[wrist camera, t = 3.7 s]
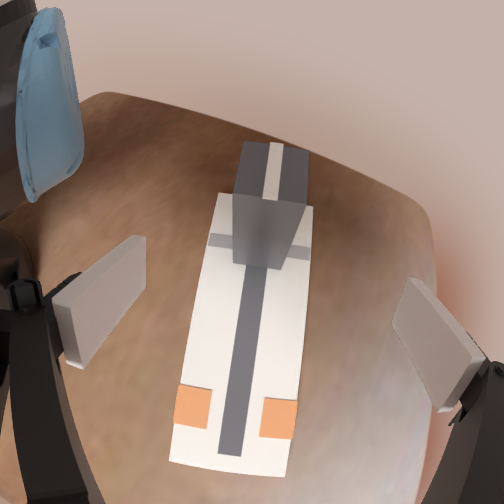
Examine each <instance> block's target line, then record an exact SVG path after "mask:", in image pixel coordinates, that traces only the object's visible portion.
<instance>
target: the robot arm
mask: <svg viewBox="0 0 504 504" xmlns="http://www.w3.org/2000/svg"><path fill="white" fill-rule="evenodd" d="M84 151H85V140H84V131H83V125H82V118H81V112H80V106H79V100H78V94H77V88H76V82H75V76H74V70H73V64H72V58H71V52H70V46H69V41H68V36H67V33H66V28H65V20H64V17H63V13H62V11H61V10H60V9H58V8H56V7H54V8H44V9H42V10H40V11H39V12H37V9H36V4H35V1H34V0H0V221H1V220H2V219H4V218H5V217H7V216H8V215H10V214H11V213H13V212H15V211H16V210H18V209H19V208H21V207H22V206H24V205H26V204H27V203H29V202H31V203H34V202H36V201H37V200H38V199H39V198H40V195H41V194H43V193H44V192H46V191H48V190H49V189H51V188H52V187H54V186H55V185H57V184H59V183H60V182H62V181H64V180H65V179H67V178H69V177H70V176H72V175H73V174H74V173H75V172H76V171H77V169H78V168H79V166H80V164H81V162H82V160H83V157H84ZM145 288H146V237H145V236H139V235H133V234H132V235H131V236H130V237H128V238H127V239H126V240H124V241H123V242H121V243H120V244H119V245H117V246H116V247H115V248H114V249H112V250H111V251H110V252H108V253H107V254H106V255H104V256H103V257H102V258H101V259H99V260H98V261H97V262H95V263H94V264H93V265H92V266H90V267H89V268H88V269H87V270H85V271H84V272H83V273H82V272H78V273H76V274H73V275H71V276H69V277H68V278H67V279H65V280H64V281H63V282H62V283H60V284H59V285H58V286H57V288H54V289H53V290H52V291H50V292H49V293H48V294H47V295H46V296H44V297H43V293H42V287H41V283H40V281H38V280H37V279H34V276H33V264H32V259H31V256H30V253H29V250H28V248H27V246H26V244H25V243H24V242H23V240H22V239H21V238H20V237H18V236H17V235H16V234H15V233H14V232H13V231H12V230H10V229H9V228H7V227H6V226H3V225H1V224H0V434H1V427H2V421H3V415H4V410H5V404H6V400H7V395H8V390H9V386H10V399H11V411H12V421H13V429H14V436H15V443H16V449H17V455H18V460H19V465H20V470H21V475H22V479H23V483H24V487H25V491H26V495H27V504H106V503H105V501H104V499H103V497H102V495H101V493H100V490H99V488H98V486H97V484H96V481H95V479H94V476H93V474H92V471H91V469H90V466H89V464H88V461H87V458H86V456H85V453H84V450H83V447H82V445H81V442H80V439H79V436H78V432H77V429H76V426H75V423H74V419H73V416H72V412H71V409H70V405H69V401H68V398H67V394H66V389H65V385H64V381H63V376H62V372H61V367H60V363H59V359H58V357H59V356H60V355H61V354H62V352H63V351H64V355H65V359H66V362H67V364H69V365H72V366H75V367H77V368H80V369H83V370H84V369H85V367H86V366H87V365H88V363H89V362H90V360H91V359H92V358H93V356H94V355H95V353H96V352H97V351H98V349H99V348H100V347H101V345H102V344H103V343H104V341H105V340H106V339H107V337H108V336H109V334H110V333H111V332H112V330H113V329H114V328H115V327H116V325H117V324H118V323H119V321H120V320H121V319H122V317H123V316H124V315H125V313H126V312H127V311H128V310H129V308H130V307H131V306H132V304H133V303H134V302H135V301H136V299H137V298H138V297H139V295H140V294H141V293H142V292H143V290H144V289H145ZM391 324H392V326H393V327H394V329H395V331H396V333H397V335H398V336H399V338H400V340H401V342H402V344H403V345H404V347H405V349H406V351H407V353H408V355H409V357H410V359H411V360H412V362H413V364H414V366H415V368H416V370H417V372H418V374H419V376H420V378H421V380H422V382H423V384H424V386H425V388H426V390H427V392H428V394H429V396H430V398H431V400H432V402H433V404H434V406H435V408H436V410H437V412H446V411H452V409H453V408H454V406H455V405H456V404H457V402H458V400H460V402H461V404H462V407H461V409H460V410H459V411H458V413H457V414H456V415H455V417H454V418H453V419H452V421H451V422H450V423H449V425H448V426H451V425H452V423H454V426H453V429H452V432H451V435H450V438H449V441H448V443H447V446H446V449H445V451H444V454H443V456H442V459H441V462H440V464H439V466H438V469H437V471H436V474H435V476H434V478H433V480H432V482H431V485H430V487H429V489H428V491H427V493H426V495H425V497H424V499H423V501H422V503H421V504H504V364H503V363H500V362H497V361H493V362H490V361H489V359H488V358H487V356H486V355H485V354H484V353H483V352H482V350H481V349H480V348H479V346H477V344H476V342H475V341H473V339H472V338H471V336H470V335H469V334H468V333H467V332H466V331H465V330H464V329H463V328H462V327H461V325H460V324H459V323H458V322H457V321H456V319H455V318H454V317H453V316H452V315H451V314H450V313H449V311H448V310H447V309H446V308H445V307H444V305H443V304H442V303H441V302H440V301H439V300H438V299H437V297H436V296H435V295H434V294H433V293H432V292H431V291H430V290H429V289H428V288H427V286H426V285H425V284H424V283H423V282H422V281H421V280H420V279H415V278H409V277H408V279H407V282H406V284H405V287H404V290H403V293H402V296H401V298H400V301H399V304H398V306H397V309H396V312H395V314H394V317H393V319H392V322H391Z"/></svg>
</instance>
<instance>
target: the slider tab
mask: <svg viewBox="0 0 504 504" xmlns="http://www.w3.org/2000/svg"><path fill="white" fill-rule="evenodd" d="M283 145H284V144H281V143H275V142H270V144H266V143H259V142H252V141H244V142H243V146H242V151H241V155H240V160H239V165H238V169H237V174H236V179H235V183H234V188H233V193H232V240H233V263H235V264H242V265H248V266H255V267H262V268H269V269H276V270H281V269H282V266H283V264H284V262H285V259H286V257H287V254H288V252H289V249H290V247H291V244H292V242H293V239H294V237H295V234H296V231H297V229H298V226H299V224H300V221H301V219H302V216H303V214H304V211H305V208H306V206H307V196H308V172H309V150H303V149H298V148H292V147H286V146H283Z"/></svg>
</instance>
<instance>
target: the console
mask: <svg viewBox="0 0 504 504" xmlns="http://www.w3.org/2000/svg"><path fill="white" fill-rule="evenodd" d="M312 222H313V206H306V208H305V211H304V214H303V216H302V219H301V221H300V224H299V226H298V229H297V231H296V234H295V237H294V239H293V242H292V244H291V247H290V249H289V252H288V254H287V257H286V259H285V262H284V264H283V266H282V269H281V270H276V269H269V268H262V267H255V266H248V265H242V264H235V263H233V240H232V194H226V193H218V198H217V202H216V206H215V210H214V215H213V219H212V224H211V228H210V232H209V237H208V242H207V246H206V251H205V255H204V260H203V265H202V270H201V274H200V279H199V284H198V289H197V294H196V299H195V304H194V310H193V315H192V320H191V325H190V331H189V336H188V342H187V347H186V353H185V359H184V365H183V370H182V376H181V383H180V384H179V385H178V392H177V398H176V405H175V411H174V418H173V423H174V428H173V435H172V443H171V450H170V458H169V461H172V462H176V463H180V464H185V465H190V466H195V467H200V468H206V469H212V470H218V471H225V472H232V473H241V474H250V475H261V476H274V477H285V472H286V466H287V460H288V454H289V448H290V442H291V439H293V433H294V426H295V419H296V412H297V405H298V401H297V393H298V385H299V377H300V369H301V360H302V351H303V342H304V332H305V322H306V311H307V299H308V286H309V273H310V258H311V241H312Z"/></svg>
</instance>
